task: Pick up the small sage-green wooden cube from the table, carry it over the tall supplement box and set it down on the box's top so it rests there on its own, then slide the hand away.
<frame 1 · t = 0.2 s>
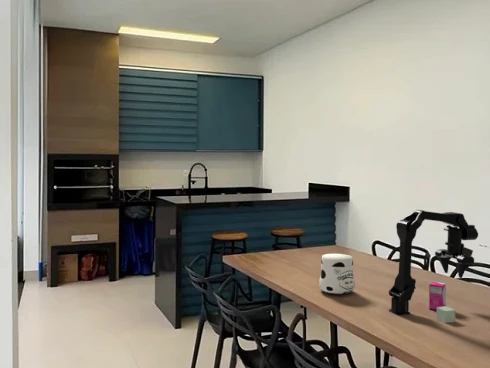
hand: (453, 275, 206), 14 cm above the table, tool pointing down, fingers open, 9 cm apart
supplement box: (437, 309, 204), on the table
milk container: (336, 292, 229), on the table
sage cube: (445, 320, 189), on the table
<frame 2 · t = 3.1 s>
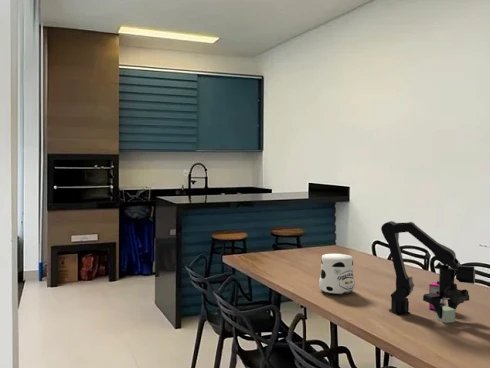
hand: (445, 317, 189), 1 cm above the table, tool pointing down, fingers closed on sage cube, 5 cm apart
sage cube: (445, 320, 189), on the table, touching gripper
everything else where it was.
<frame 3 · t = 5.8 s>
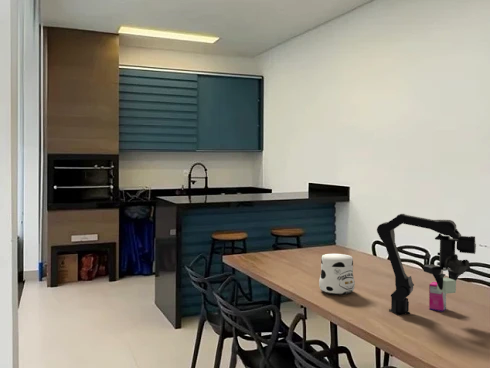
hand: (446, 288, 189), 13 cm above the table, tool pointing down, fingers closed on sage cube, 5 cm apart
sage cube: (446, 291, 189), point 12 cm above the table, touching gripper
everything else where it was.
when the fingers open (13 cm above the table, at t = 8.8 s): sage cube stays where it is, resting on supplement box.
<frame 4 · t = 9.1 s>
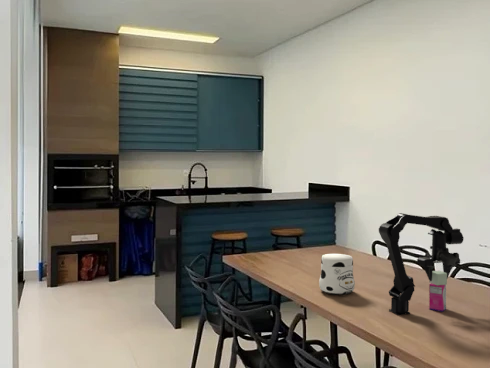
hand: (438, 280, 203), 13 cm above the table, tool pointing down, fingers open, 8 cm apart
supplement box: (437, 309, 204), on the table, touching sage cube
sage cube: (438, 283, 203), point 11 cm above the table, touching supplement box
everything else where it was.
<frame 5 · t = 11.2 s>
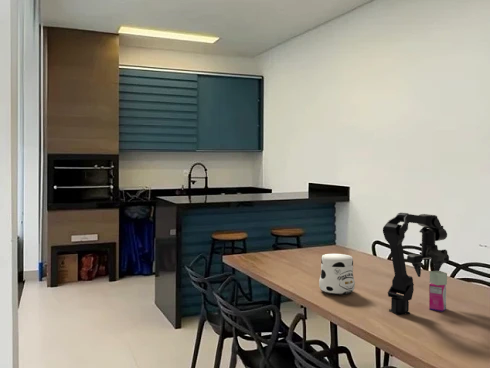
hand: (427, 276, 209), 13 cm above the table, tool pointing down, fingers open, 9 cm apart
nothing on the table moved.
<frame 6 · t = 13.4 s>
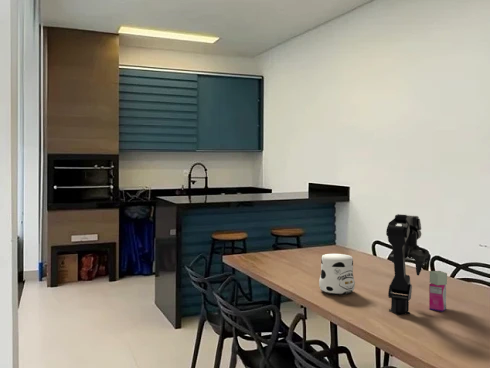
hand: (409, 276, 214), 12 cm above the table, tool pointing down, fingers open, 9 cm apart
nothing on the table moved.
at the end: sage cube 0.0 cm off-centre on the supplement box, point 11.7 cm above the supplement box's base; supplement box tilted 0°; the gripper is holding nothing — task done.
